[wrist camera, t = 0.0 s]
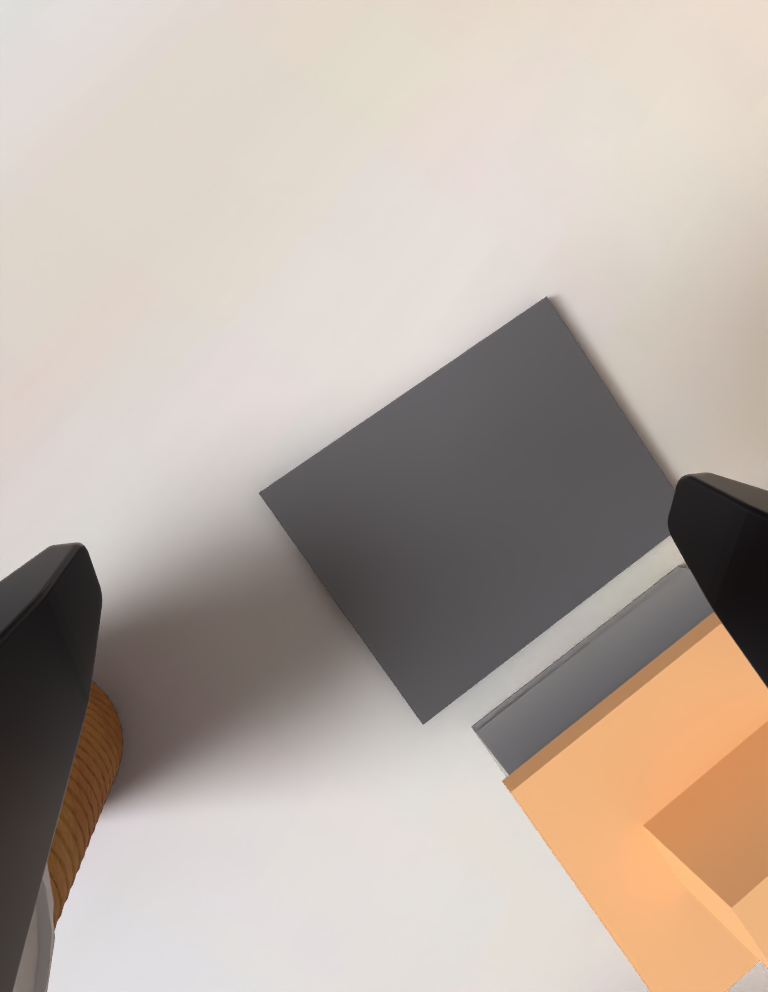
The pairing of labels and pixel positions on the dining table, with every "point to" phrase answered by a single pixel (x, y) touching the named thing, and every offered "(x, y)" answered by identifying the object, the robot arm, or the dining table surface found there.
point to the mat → (477, 508)
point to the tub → (593, 670)
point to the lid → (667, 813)
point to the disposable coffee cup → (72, 833)
